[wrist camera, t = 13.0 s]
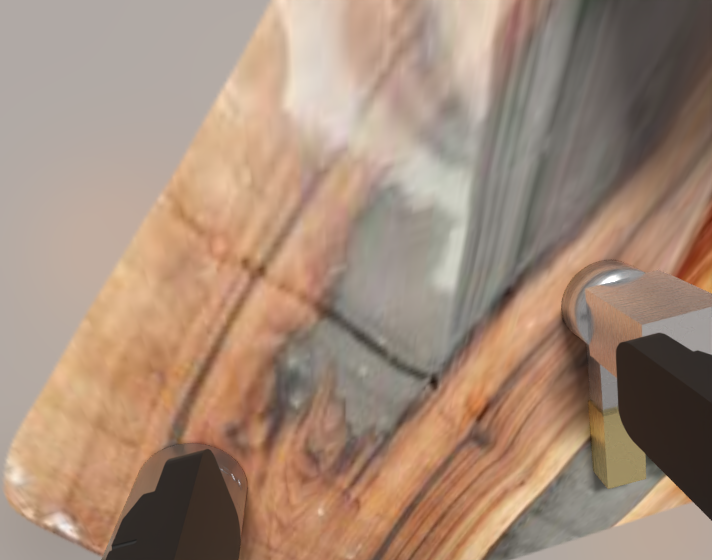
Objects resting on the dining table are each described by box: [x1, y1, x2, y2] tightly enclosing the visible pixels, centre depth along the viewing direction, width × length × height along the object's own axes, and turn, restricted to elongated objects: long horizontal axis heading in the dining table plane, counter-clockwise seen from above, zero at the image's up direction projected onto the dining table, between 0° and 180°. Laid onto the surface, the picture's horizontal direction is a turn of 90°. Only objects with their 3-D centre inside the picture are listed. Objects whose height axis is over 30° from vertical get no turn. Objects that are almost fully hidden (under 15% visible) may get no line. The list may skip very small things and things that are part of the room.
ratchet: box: [561, 260, 646, 489], centre depth 40 cm, size 21×7×8 cm, turn 13°
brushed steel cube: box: [585, 270, 712, 378], centre depth 36 cm, size 6×6×7 cm
